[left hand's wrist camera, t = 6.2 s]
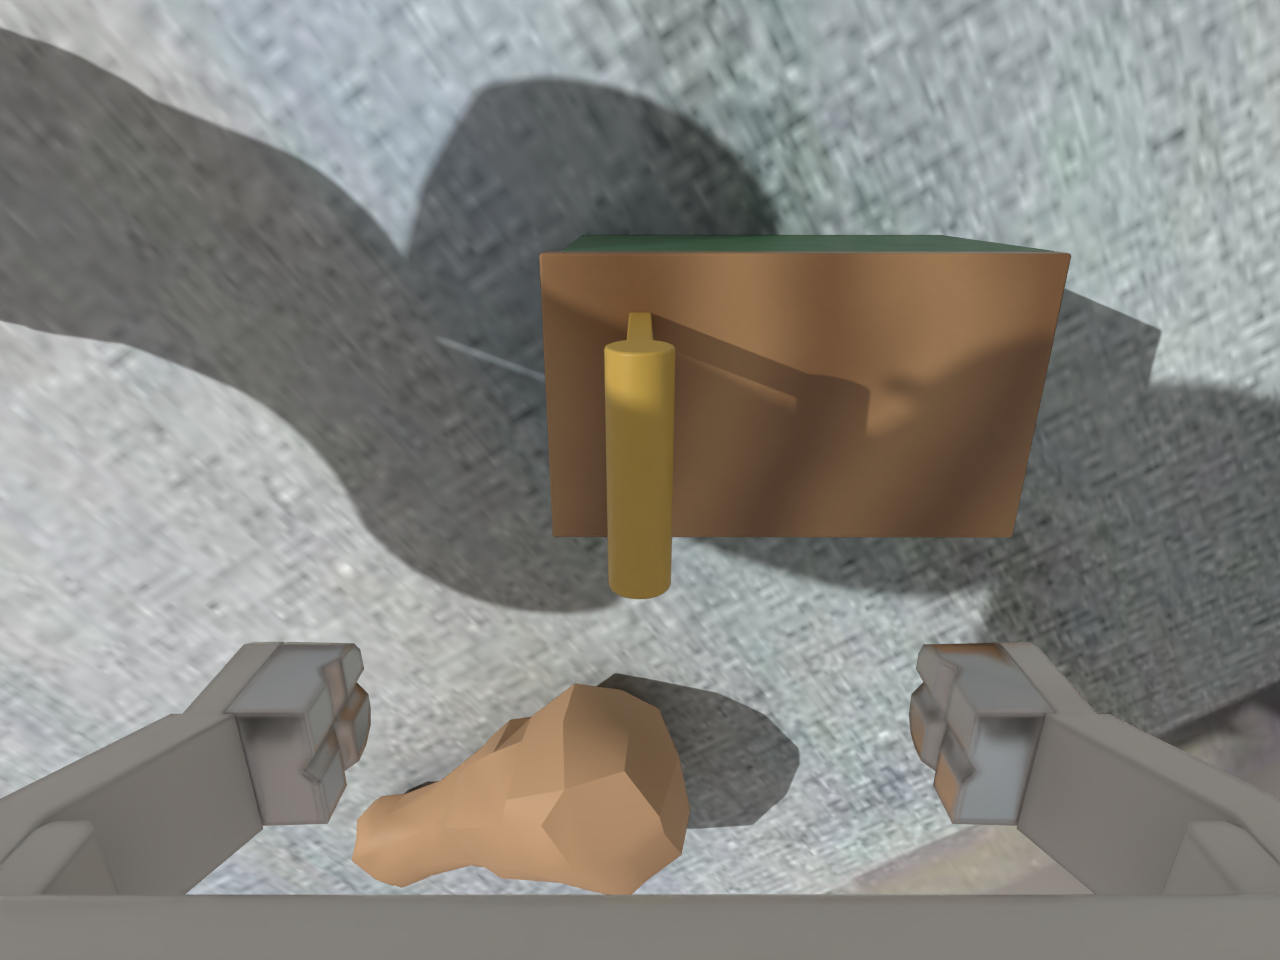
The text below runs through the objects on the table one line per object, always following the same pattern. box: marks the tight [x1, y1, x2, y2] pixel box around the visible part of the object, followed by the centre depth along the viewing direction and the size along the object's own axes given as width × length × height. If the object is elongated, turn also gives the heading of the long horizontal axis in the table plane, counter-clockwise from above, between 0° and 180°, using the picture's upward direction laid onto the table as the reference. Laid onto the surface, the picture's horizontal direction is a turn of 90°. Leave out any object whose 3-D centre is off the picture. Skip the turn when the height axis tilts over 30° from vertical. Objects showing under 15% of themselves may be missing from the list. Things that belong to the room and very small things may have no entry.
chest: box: [562, 235, 1055, 252], centre depth 30 cm, size 16×10×10 cm, turn 90°
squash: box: [352, 684, 690, 895], centre depth 40 cm, size 11×20×9 cm, turn 119°
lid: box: [539, 251, 1071, 599], centre depth 21 cm, size 17×10×8 cm, turn 90°
